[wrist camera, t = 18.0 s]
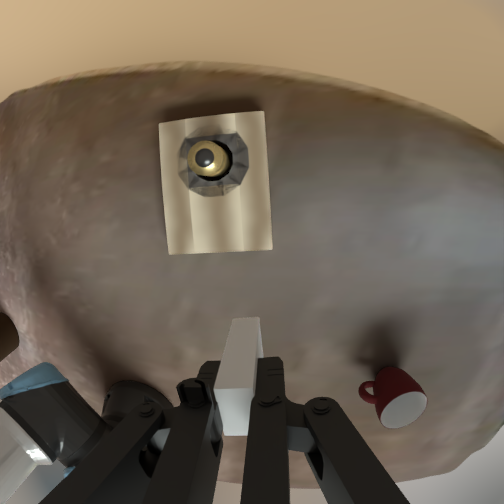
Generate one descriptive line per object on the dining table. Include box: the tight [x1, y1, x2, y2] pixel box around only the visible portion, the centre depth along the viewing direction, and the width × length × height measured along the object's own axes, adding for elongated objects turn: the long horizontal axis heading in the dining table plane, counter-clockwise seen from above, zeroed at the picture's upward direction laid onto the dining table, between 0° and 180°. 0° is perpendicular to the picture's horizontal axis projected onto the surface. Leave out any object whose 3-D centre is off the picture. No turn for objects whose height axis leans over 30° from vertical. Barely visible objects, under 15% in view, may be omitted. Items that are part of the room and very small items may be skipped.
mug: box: [359, 367, 427, 429], centre depth 41 cm, size 10×8×10 cm
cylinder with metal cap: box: [187, 141, 232, 177], centre depth 36 cm, size 4×4×8 cm
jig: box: [159, 111, 273, 255], centre depth 39 cm, size 14×18×3 cm
